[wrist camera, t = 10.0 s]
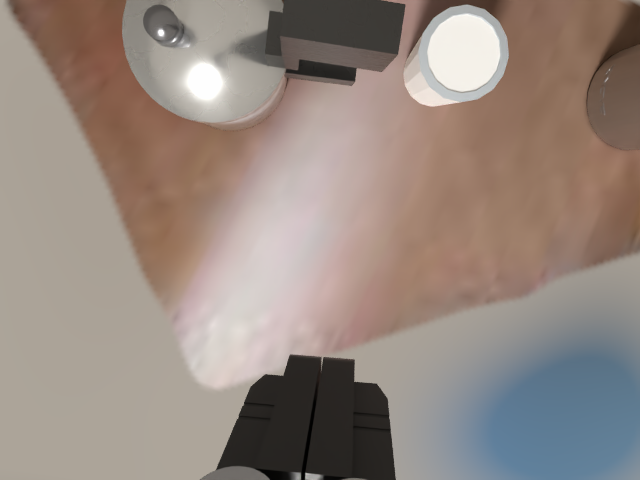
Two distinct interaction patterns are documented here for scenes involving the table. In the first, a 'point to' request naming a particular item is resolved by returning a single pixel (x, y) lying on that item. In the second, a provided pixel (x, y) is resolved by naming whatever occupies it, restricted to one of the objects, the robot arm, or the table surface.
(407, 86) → the white cylinder
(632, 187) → the table surface
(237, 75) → the lid
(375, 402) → the robot arm
